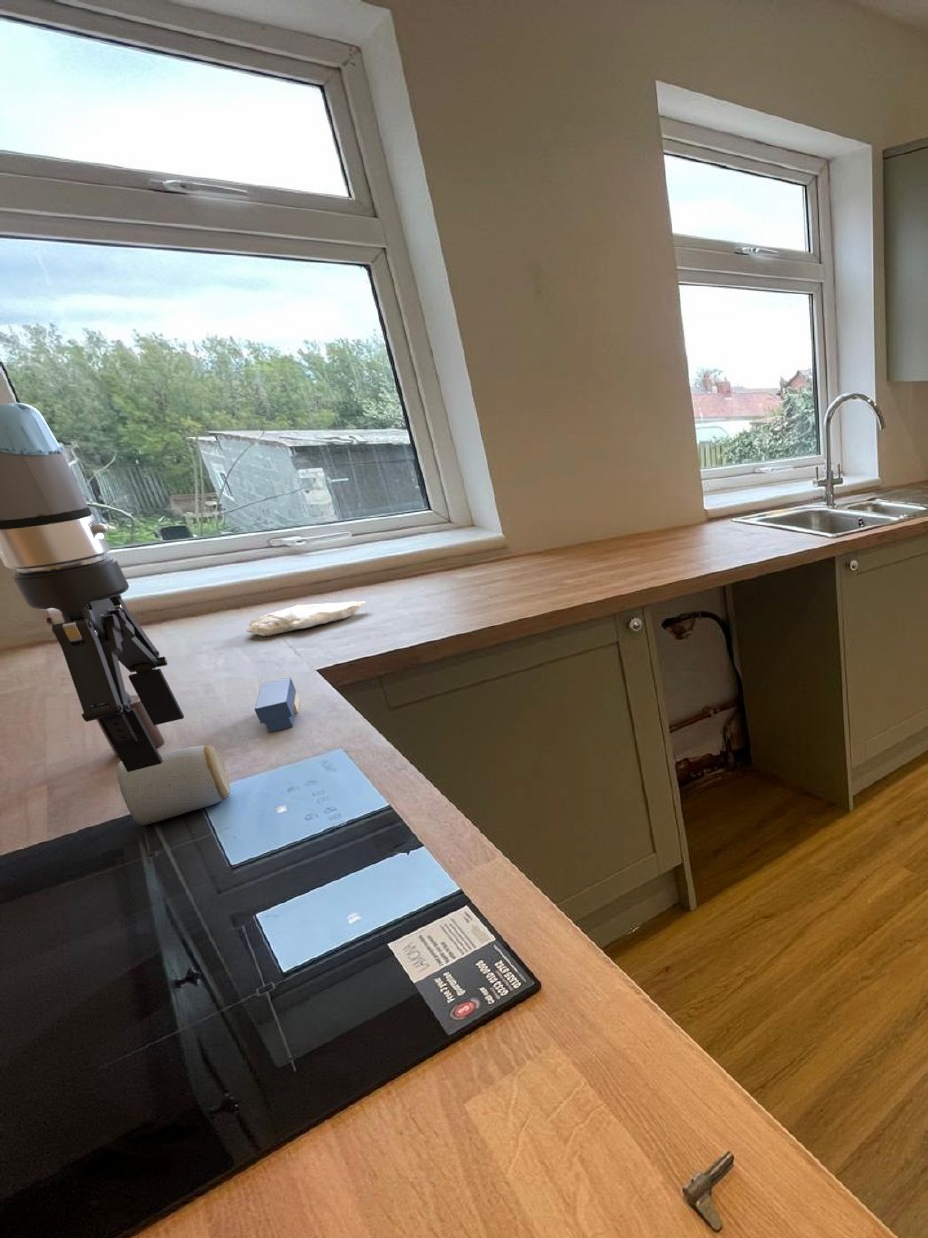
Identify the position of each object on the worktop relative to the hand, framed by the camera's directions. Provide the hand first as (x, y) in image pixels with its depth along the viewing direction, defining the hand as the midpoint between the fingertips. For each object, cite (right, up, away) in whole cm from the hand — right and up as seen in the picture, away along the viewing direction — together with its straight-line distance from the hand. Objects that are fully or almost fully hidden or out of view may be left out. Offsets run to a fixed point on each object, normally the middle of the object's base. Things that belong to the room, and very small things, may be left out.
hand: (158, 742), depth 82 cm
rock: (-34, +17, +65) cm, 75 cm away
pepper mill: (-20, -3, +17) cm, 27 cm away
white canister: (0, -8, +3) cm, 9 cm away
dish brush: (-7, +1, +25) cm, 26 cm away
